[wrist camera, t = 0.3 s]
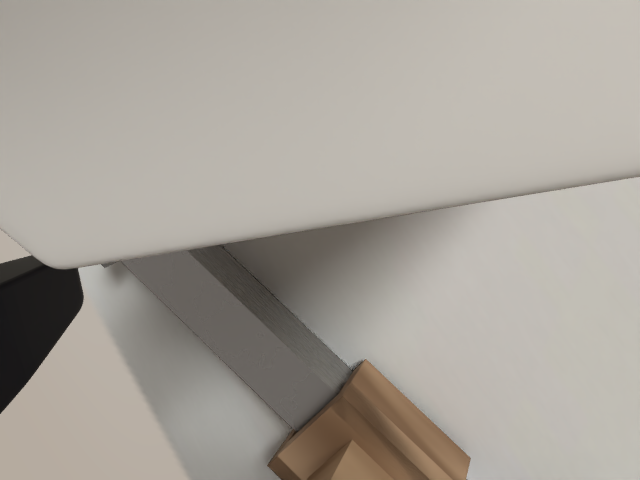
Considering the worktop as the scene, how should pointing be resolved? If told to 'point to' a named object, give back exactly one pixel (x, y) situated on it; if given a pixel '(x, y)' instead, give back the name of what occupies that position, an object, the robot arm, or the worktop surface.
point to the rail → (246, 329)
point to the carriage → (369, 438)
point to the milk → (298, 114)
